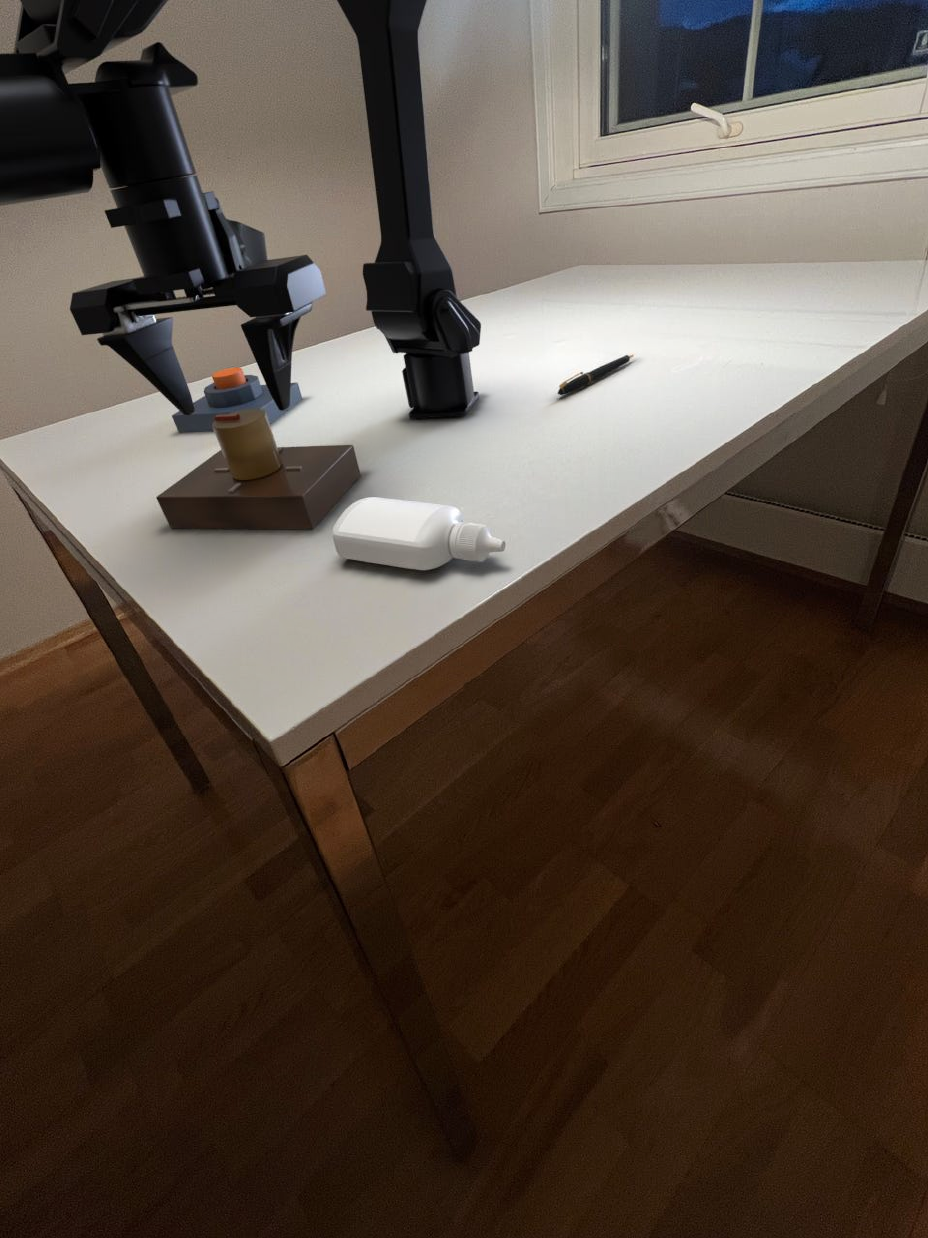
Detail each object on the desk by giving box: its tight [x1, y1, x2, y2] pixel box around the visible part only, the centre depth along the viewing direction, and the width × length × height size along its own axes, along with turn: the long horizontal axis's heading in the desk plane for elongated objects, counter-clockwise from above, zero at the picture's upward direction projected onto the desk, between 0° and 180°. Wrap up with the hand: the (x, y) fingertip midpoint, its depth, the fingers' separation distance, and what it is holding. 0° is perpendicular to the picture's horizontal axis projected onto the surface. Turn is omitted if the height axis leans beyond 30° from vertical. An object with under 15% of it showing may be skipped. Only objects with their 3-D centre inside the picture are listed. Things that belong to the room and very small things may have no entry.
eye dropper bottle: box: [331, 496, 506, 571], centre depth 43 cm, size 4×6×12 cm
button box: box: [171, 374, 303, 434], centre depth 77 cm, size 12×10×4 cm
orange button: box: [211, 367, 246, 390], centre depth 76 cm, size 4×4×2 cm
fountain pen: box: [557, 353, 635, 396], centre depth 70 cm, size 14×1×2 cm, turn 134°
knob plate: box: [155, 444, 362, 530], centre depth 55 cm, size 14×10×3 cm
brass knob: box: [212, 409, 282, 480], centre depth 53 cm, size 4×4×5 cm
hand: (236, 411), depth 52 cm, fingers open, 9 cm apart
